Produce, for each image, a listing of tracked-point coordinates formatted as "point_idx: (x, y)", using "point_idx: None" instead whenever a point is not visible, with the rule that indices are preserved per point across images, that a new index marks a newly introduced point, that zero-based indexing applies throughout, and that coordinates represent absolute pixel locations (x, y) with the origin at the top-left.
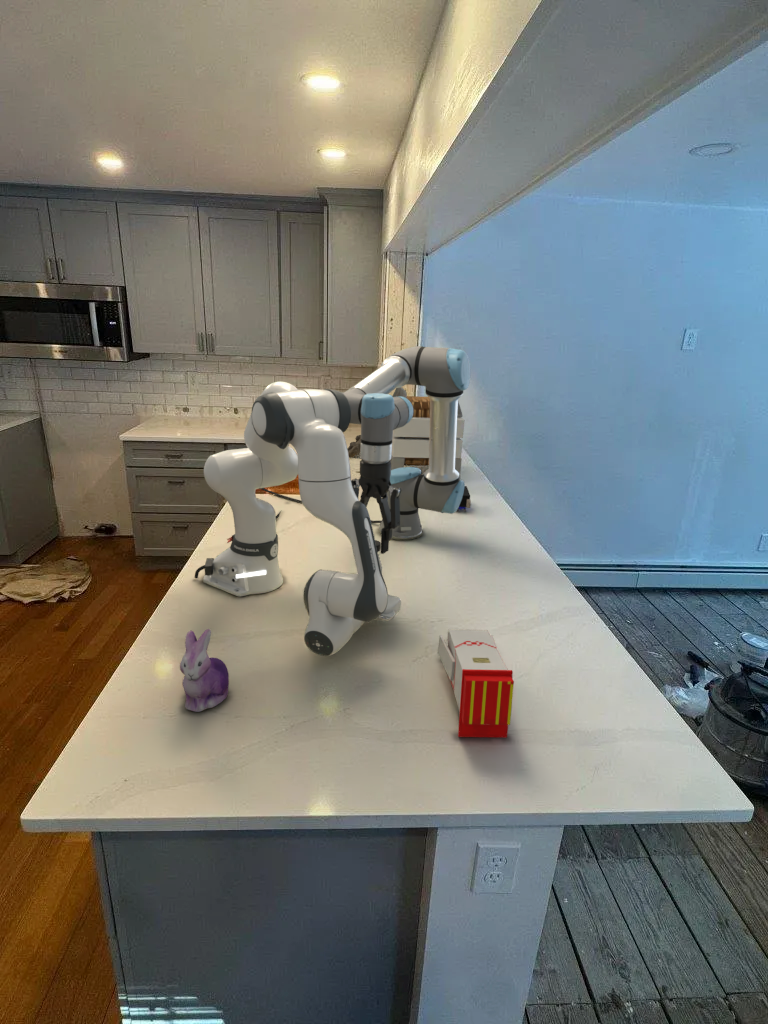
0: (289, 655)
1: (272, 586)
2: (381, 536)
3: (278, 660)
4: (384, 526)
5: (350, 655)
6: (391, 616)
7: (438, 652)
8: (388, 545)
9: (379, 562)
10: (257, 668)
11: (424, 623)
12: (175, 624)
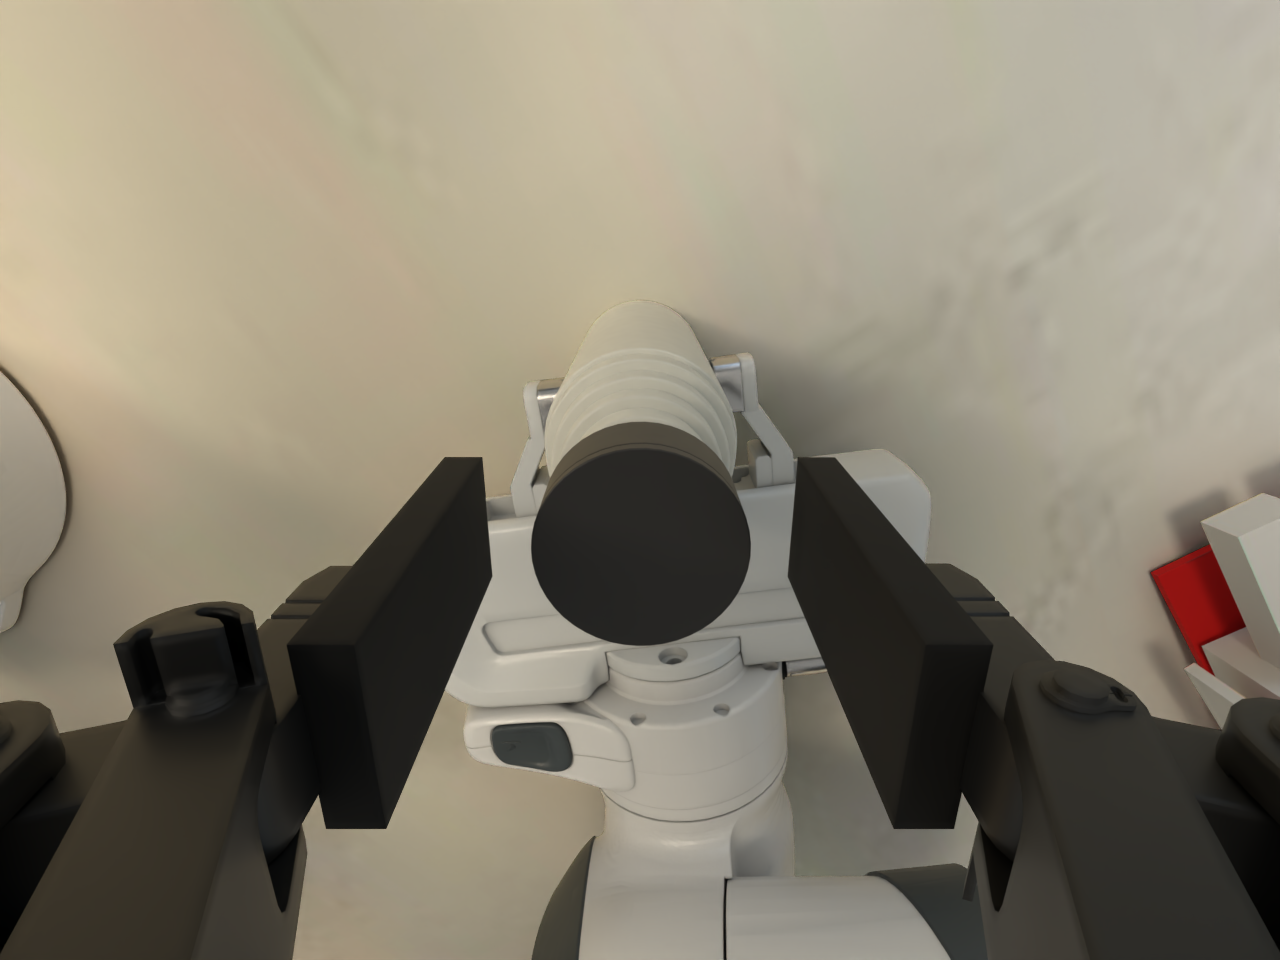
0: (562, 827)
1: (41, 497)
2: (852, 720)
3: (551, 862)
4: (980, 875)
5: None
6: None
7: (1196, 683)
8: (854, 486)
9: (723, 455)
10: (524, 918)
11: (981, 320)
12: None
